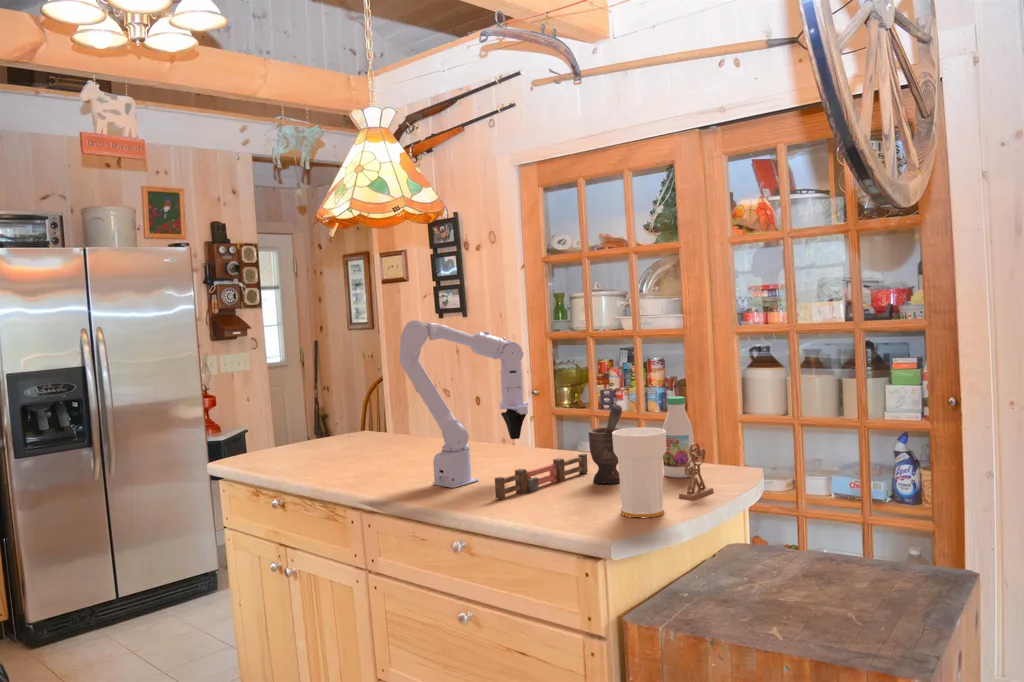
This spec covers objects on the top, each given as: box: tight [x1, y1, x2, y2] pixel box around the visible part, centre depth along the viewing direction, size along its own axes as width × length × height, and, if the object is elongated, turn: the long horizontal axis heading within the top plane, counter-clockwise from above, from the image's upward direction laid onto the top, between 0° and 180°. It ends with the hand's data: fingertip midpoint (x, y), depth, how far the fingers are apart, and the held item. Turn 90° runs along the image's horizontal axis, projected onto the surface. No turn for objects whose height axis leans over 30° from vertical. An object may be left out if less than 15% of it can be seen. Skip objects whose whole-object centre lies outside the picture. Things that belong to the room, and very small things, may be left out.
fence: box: [494, 453, 589, 500], centre depth 200 cm, size 34×3×6 cm, turn 137°
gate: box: [526, 463, 558, 486], centre depth 199 cm, size 11×1×4 cm, turn 138°
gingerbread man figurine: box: [678, 442, 714, 501], centre depth 182 cm, size 9×4×12 cm, turn 136°
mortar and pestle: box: [588, 404, 623, 485], centre depth 199 cm, size 12×9×20 cm
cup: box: [612, 426, 666, 518], centre depth 170 cm, size 11×11×17 cm
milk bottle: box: [662, 396, 695, 479], centre depth 203 cm, size 8×8×20 cm
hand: (515, 438), depth 210 cm, fingers closed
